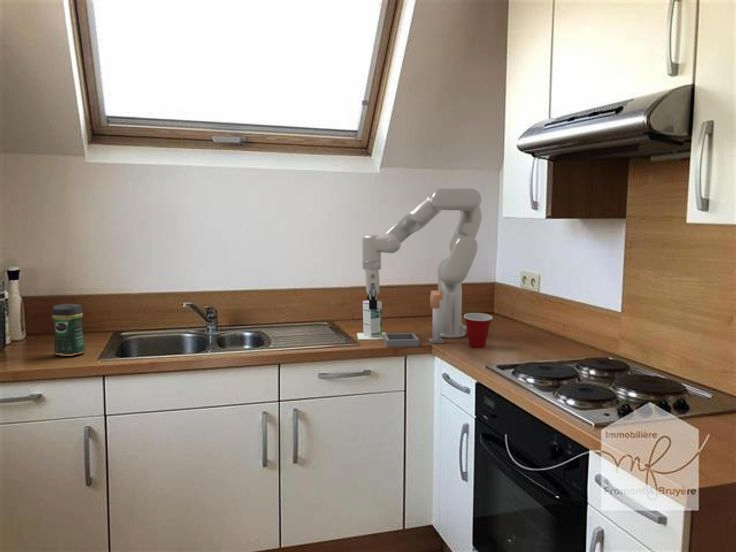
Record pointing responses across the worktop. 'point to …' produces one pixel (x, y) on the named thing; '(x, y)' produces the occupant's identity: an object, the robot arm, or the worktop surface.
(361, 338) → the mat
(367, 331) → the syrup box
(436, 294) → the orange bar
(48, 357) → the worktop surface
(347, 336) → the worktop surface
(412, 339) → the socket
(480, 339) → the plastic cup
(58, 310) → the coffee jar
